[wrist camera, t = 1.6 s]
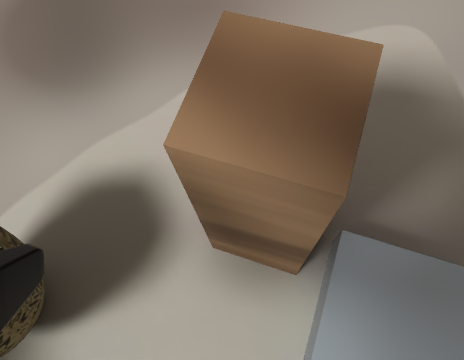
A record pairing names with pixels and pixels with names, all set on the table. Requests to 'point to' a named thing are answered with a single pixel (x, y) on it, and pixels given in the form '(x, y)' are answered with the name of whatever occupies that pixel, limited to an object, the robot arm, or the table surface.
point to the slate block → (387, 304)
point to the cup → (28, 311)
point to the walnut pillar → (272, 135)
